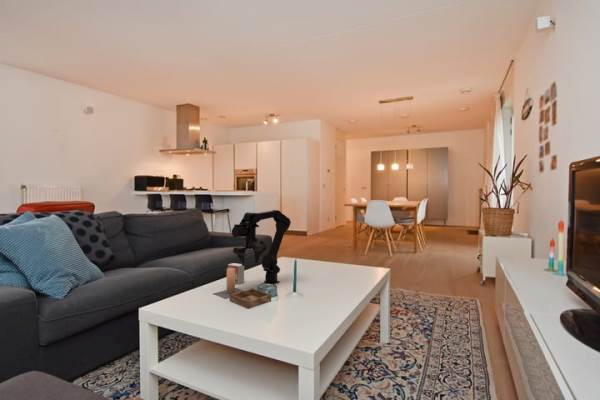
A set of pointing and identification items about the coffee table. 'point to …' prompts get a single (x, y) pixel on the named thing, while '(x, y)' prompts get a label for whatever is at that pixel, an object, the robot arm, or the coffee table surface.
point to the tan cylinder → (230, 280)
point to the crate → (250, 298)
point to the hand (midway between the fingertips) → (249, 264)
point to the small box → (238, 272)
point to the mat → (224, 293)
